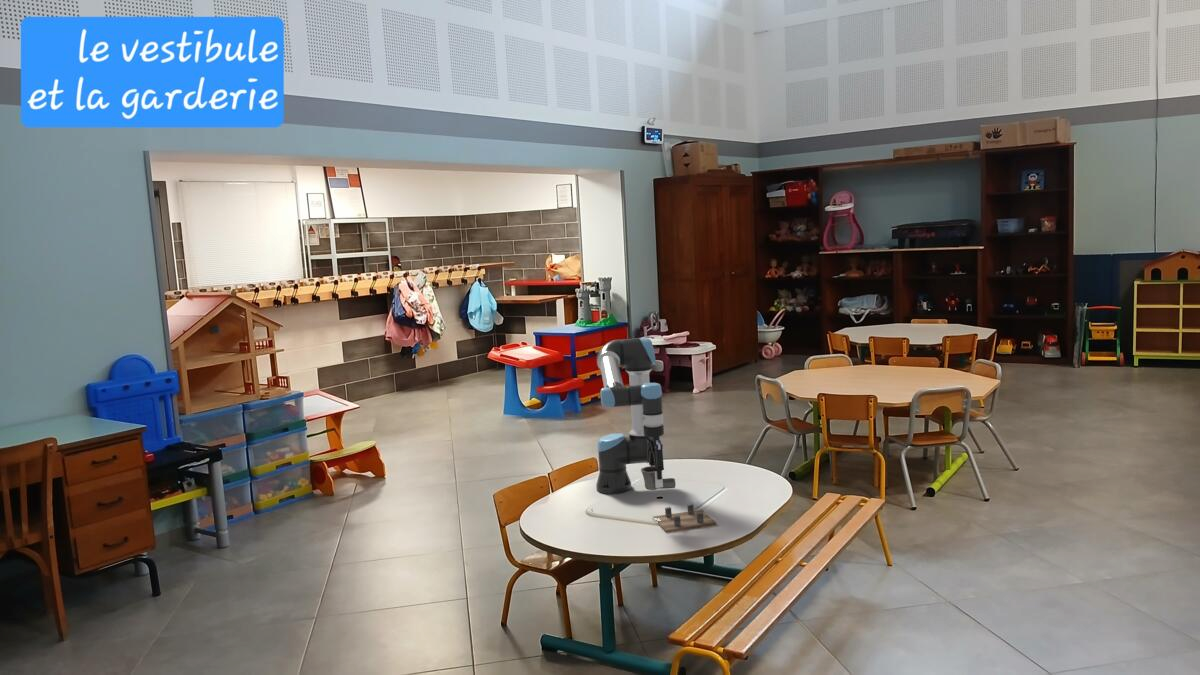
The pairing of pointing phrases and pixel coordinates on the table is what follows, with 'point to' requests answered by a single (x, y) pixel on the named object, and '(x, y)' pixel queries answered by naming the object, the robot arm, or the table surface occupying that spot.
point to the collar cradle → (684, 519)
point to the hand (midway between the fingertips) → (656, 484)
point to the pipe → (650, 479)
